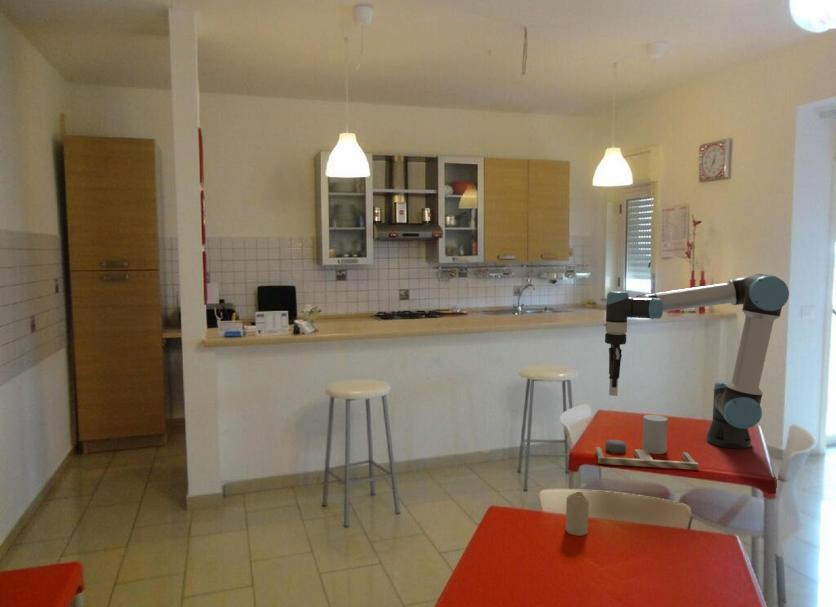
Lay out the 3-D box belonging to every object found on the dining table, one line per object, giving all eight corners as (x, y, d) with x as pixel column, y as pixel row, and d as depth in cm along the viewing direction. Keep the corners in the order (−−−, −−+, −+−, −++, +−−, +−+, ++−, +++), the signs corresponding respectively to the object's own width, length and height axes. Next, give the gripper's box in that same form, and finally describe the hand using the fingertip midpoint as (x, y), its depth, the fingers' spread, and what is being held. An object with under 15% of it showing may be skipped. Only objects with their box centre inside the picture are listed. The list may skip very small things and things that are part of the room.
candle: (572, 524, 159) (574, 487, 158) (591, 531, 155) (592, 493, 155) (561, 530, 156) (562, 493, 155) (580, 538, 152) (581, 500, 151)
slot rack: (688, 457, 211) (688, 452, 210) (698, 469, 199) (698, 463, 199) (594, 452, 215) (594, 446, 215) (598, 463, 204) (598, 457, 204)
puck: (623, 448, 221) (624, 440, 220) (627, 454, 214) (627, 446, 213) (604, 447, 222) (604, 439, 221) (607, 453, 215) (607, 445, 214)
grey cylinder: (662, 446, 222) (663, 415, 221) (669, 454, 214) (670, 421, 213) (639, 445, 223) (640, 414, 222) (645, 453, 215) (647, 420, 214)
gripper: (602, 330, 230) (600, 390, 232) (608, 335, 217) (605, 399, 219) (623, 330, 228) (620, 391, 231) (629, 335, 216) (626, 400, 218)
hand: (613, 395), depth 225 cm, fingers closed
